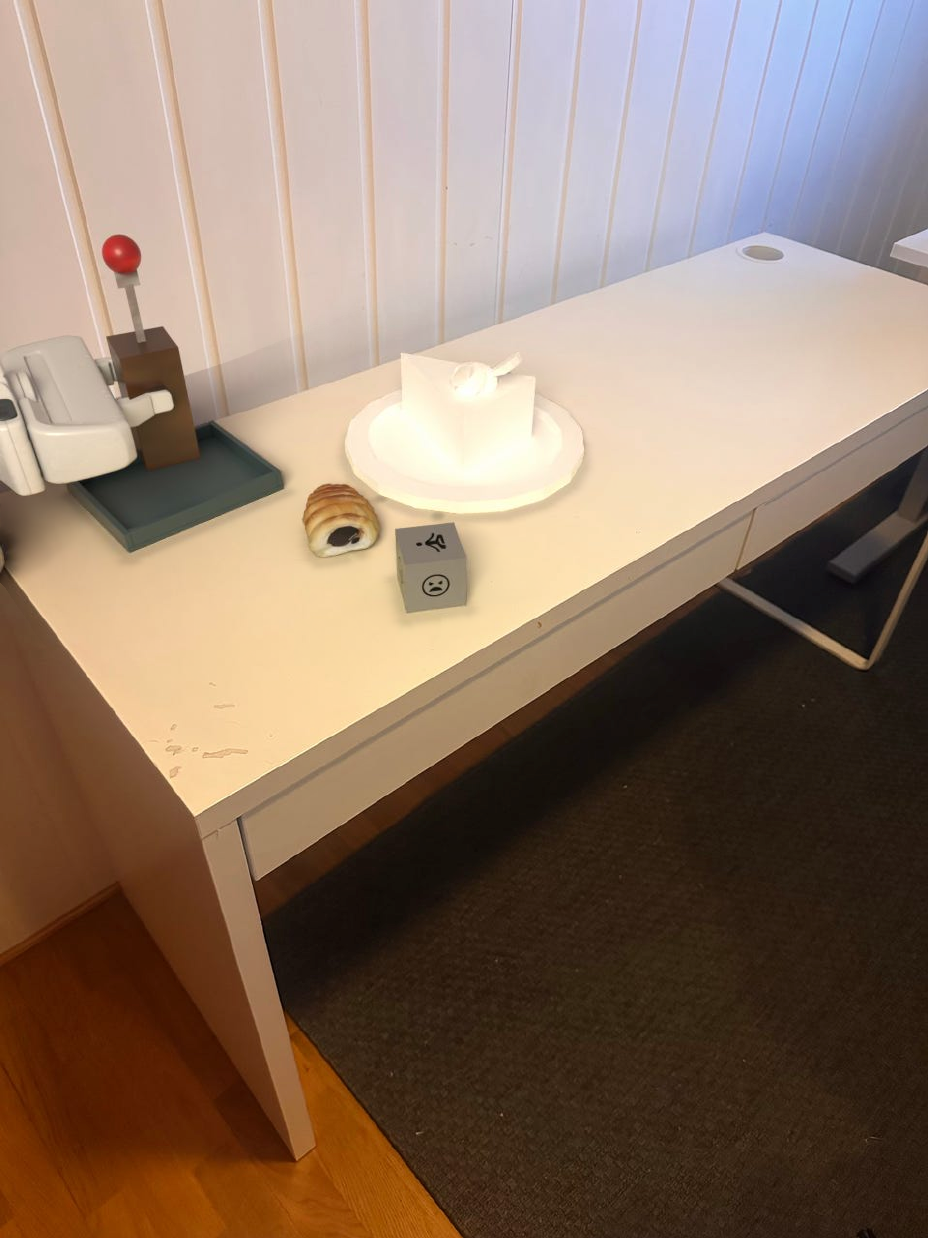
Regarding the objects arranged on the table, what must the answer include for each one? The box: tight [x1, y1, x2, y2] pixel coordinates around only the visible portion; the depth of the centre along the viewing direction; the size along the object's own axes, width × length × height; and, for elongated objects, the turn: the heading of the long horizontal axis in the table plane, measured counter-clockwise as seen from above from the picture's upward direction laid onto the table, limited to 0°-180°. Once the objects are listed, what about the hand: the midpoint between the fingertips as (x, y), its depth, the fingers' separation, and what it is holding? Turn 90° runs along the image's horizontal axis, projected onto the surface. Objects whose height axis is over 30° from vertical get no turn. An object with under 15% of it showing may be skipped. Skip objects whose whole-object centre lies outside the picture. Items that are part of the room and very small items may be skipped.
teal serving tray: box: [65, 419, 285, 554], centre depth 87 cm, size 16×13×2 cm
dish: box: [344, 351, 585, 515], centre depth 90 cm, size 25×25×11 cm
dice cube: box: [394, 522, 468, 614], centre depth 75 cm, size 5×5×5 cm
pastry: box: [301, 483, 381, 558], centre depth 82 cm, size 9×7×4 cm
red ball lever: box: [101, 234, 201, 471], centre depth 78 cm, size 5×5×20 cm
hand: (161, 382), depth 80 cm, fingers closed on red ball lever, 5 cm apart
